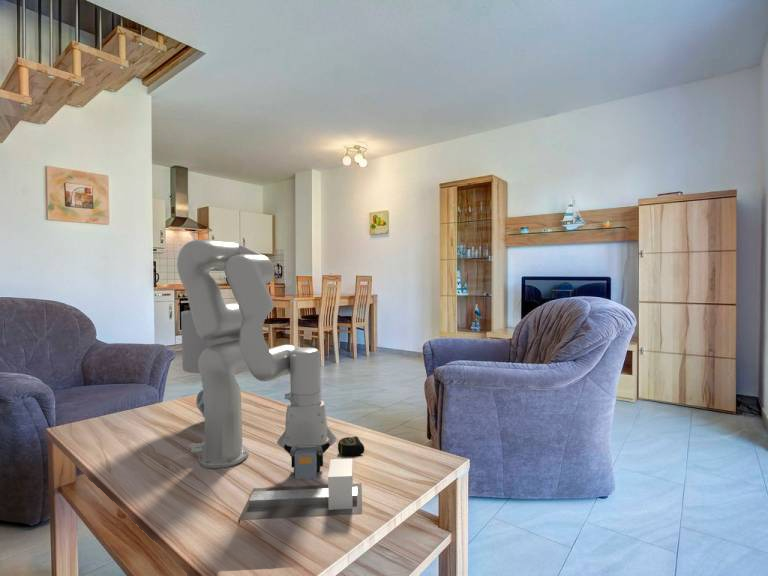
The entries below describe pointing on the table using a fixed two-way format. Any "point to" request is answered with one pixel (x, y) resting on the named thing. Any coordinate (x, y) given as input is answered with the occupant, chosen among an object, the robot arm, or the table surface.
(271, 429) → the table surface
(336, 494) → the mounted module
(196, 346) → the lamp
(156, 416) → the table surface
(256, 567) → the table surface
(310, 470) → the block
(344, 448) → the tape measure
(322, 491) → the rail
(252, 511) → the mounting board
